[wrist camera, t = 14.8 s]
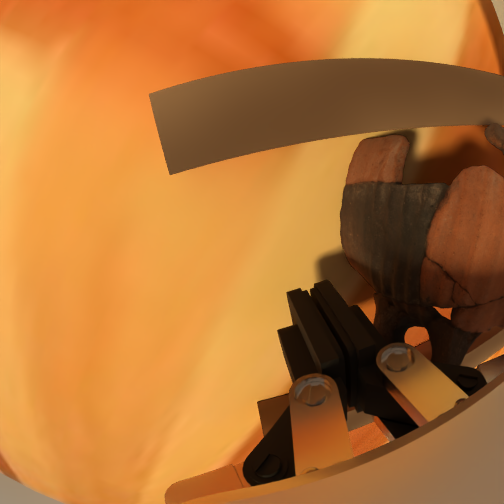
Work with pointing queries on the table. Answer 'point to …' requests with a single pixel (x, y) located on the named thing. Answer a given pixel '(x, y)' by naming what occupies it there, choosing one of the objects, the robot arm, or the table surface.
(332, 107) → the frame
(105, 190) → the table surface
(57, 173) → the table surface
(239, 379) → the table surface
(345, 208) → the pottery mug
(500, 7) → the gray rectangular bar
